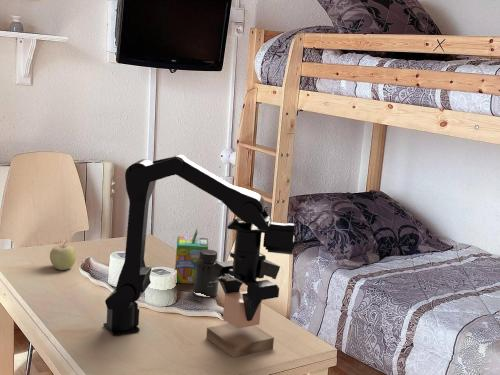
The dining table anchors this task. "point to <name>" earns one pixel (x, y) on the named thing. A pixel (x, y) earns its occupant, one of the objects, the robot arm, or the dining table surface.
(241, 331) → the walnut base
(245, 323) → the terracotta cube
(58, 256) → the fruit
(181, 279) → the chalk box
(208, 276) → the supplement bottle
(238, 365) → the dining table surface
